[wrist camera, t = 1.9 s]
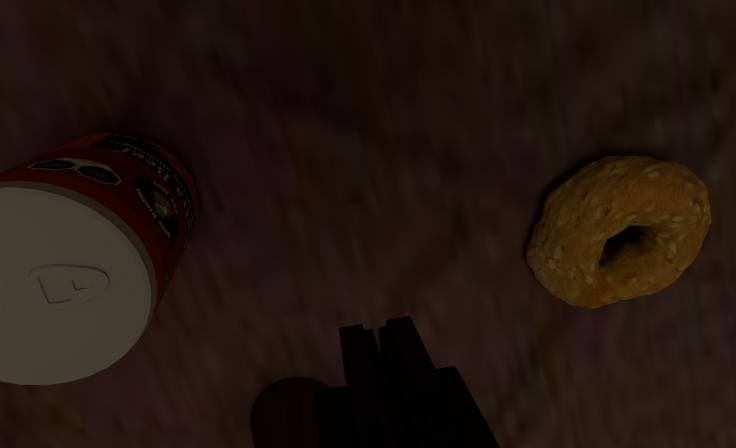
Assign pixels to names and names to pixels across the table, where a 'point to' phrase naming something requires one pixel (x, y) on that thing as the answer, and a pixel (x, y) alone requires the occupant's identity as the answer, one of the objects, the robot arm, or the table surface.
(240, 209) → the table surface
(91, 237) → the canned food
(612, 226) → the bagel
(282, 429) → the beer glass
